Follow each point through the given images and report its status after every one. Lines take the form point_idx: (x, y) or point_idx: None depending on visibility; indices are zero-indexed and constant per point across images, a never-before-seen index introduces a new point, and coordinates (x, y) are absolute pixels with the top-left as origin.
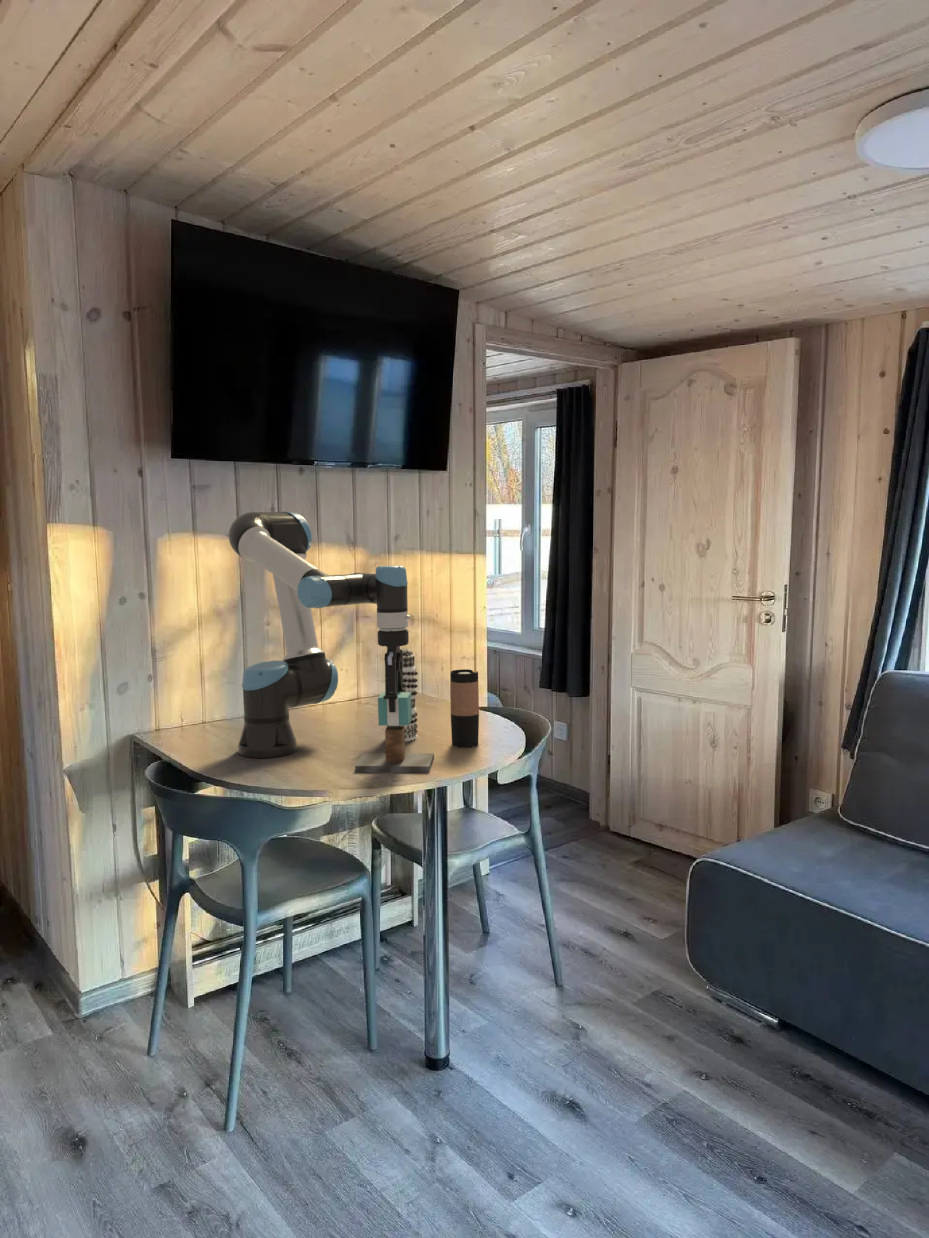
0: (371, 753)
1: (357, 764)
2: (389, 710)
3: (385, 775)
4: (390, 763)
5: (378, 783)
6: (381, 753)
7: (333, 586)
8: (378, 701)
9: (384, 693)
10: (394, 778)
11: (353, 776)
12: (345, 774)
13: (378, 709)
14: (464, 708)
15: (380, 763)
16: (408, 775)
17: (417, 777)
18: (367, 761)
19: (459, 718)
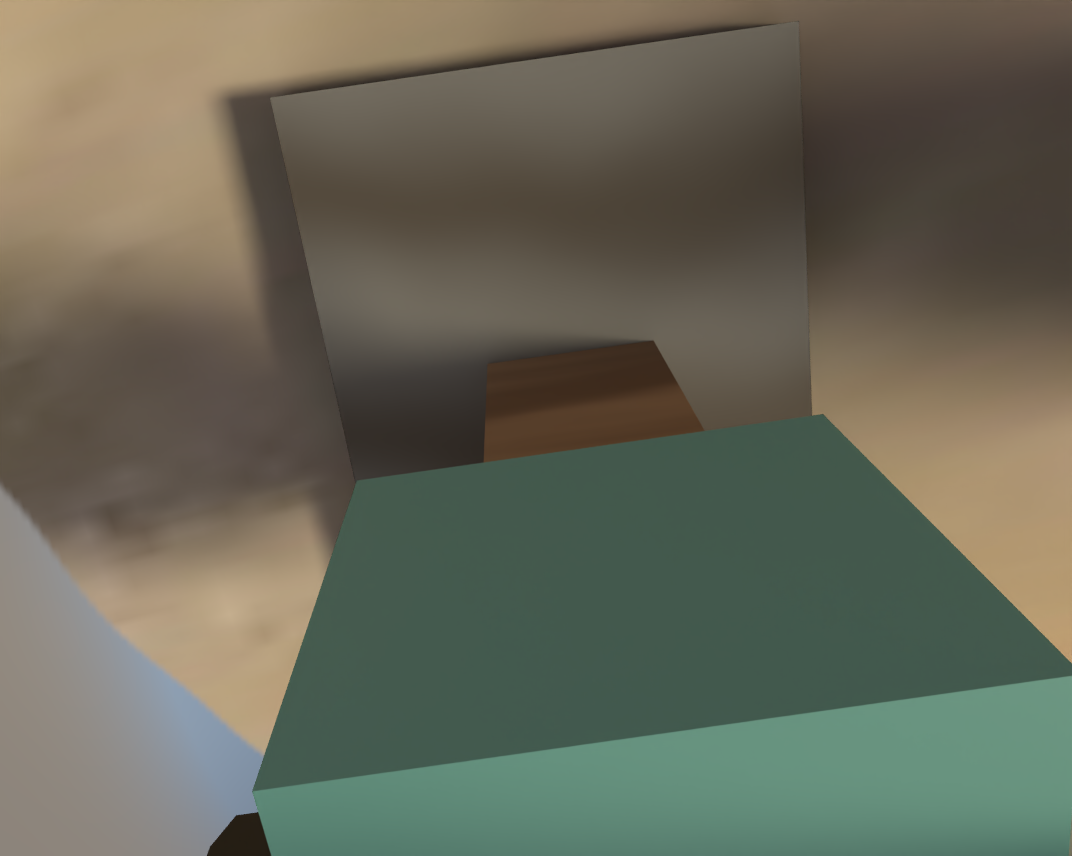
0: (784, 118)
1: (330, 105)
2: (215, 851)
3: (254, 411)
4: (438, 422)
5: (12, 422)
6: (787, 229)
7: None
8: (273, 738)
9: (910, 767)
10: (191, 506)
11: (139, 129)
12: (180, 19)
13: (309, 622)
14: None
15: (419, 330)
16: (304, 587)
17: (269, 662)
18: (464, 177)
19: None
